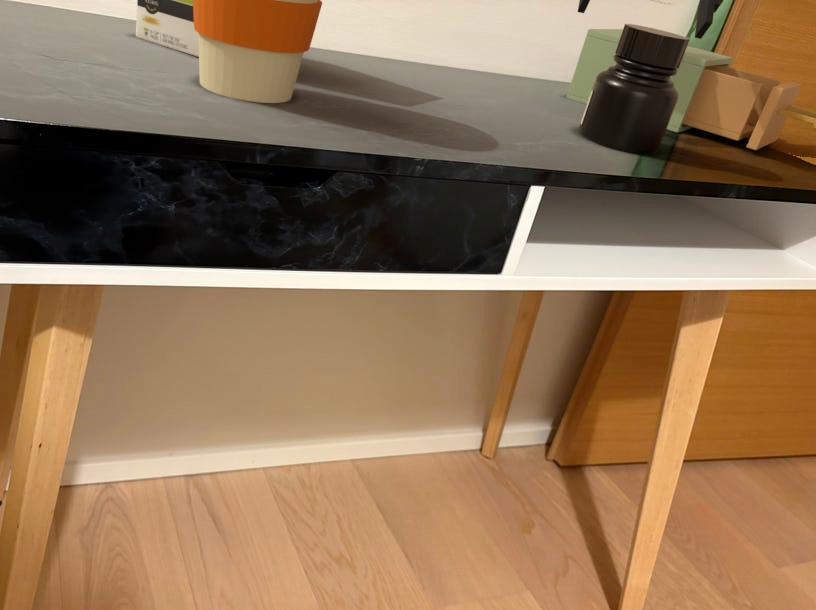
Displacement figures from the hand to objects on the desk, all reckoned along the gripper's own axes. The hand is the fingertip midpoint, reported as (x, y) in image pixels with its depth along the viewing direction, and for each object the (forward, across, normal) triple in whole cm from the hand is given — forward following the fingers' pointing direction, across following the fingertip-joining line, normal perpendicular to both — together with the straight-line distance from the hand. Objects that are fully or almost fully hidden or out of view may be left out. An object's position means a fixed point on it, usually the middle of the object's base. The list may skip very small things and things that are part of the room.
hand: (643, 17), depth 91 cm
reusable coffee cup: (+25, +39, +7) cm, 47 cm away
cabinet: (-2, -7, -20) cm, 21 cm away
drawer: (+1, -18, -15) cm, 23 cm away
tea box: (+14, +47, -4) cm, 49 cm away
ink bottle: (+15, 0, -3) cm, 15 cm away
